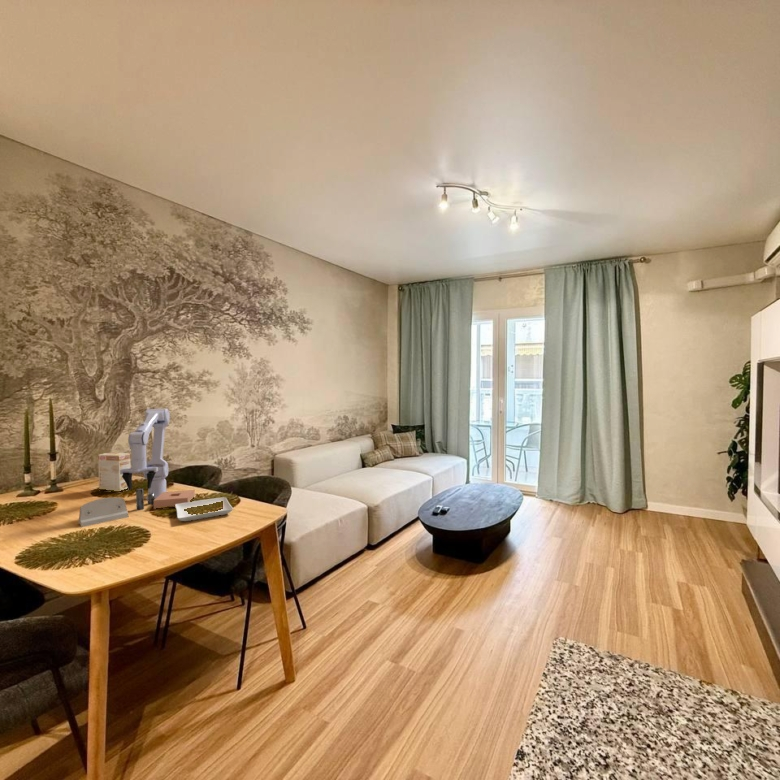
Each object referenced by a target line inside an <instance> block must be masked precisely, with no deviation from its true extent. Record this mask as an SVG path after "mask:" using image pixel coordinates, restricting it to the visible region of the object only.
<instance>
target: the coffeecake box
mask: <svg viewBox="0 0 780 780" xmlns="http://www.w3.org/2000/svg"><path fill="white" fill-rule="evenodd" d="M97 456H98V457H97V458H98V459H97V461H98V464H97V465H98V485H99V486H98V490H99V489H106V490H114V491H121V490H124V489H127V488H128V486H127V484H126V482H125V480H124V479H123V477H122V475H123V474H120V470H121V469H128V468H132V464H131V452H130V453H129V452H128V453H127V452H126V453H125V452H104V453H100V454H97Z"/></svg>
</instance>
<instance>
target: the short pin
mask: <svg viewBox="0 0 780 780" xmlns="http://www.w3.org/2000/svg"><path fill="white" fill-rule="evenodd" d="M146 497H148V499H147V505H154V501H153V500H155V499H156V498H154V493H151V494H147V495H146Z"/></svg>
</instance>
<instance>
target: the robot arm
mask: <svg viewBox="0 0 780 780" xmlns="http://www.w3.org/2000/svg"><path fill="white" fill-rule="evenodd" d="M170 416H171V414H170V410H169V409H168V408H147V409H146V410H145V411H144V421H143V422H141V423H139V425H138V426H137V428H136V429H135V431H134V432H131V433H129V435H128V438H127V440H128V441H127V442H128V445H129V449H130V464H131V468H128V469H121V470H120V474H123V475H122V477H123V479H124V480H125V482H126V484H127V486H128V490H127V491H131V490H132V489H133V483H132V482H133V474H138V473H139V474H140V473H141V474H142V473H143V474H142V475H143V477H144V478H145V479H146V481H147V490H148V491H147V493H148V494H151V493H154V498H155V499H156V498H157V497H158V496H159V495H160V494H161V493H163V492H168V491H167V480H166V478H167V477H168V475H169V470H170V469H169V463H168V461H166V460H165V459H163V458H164V457H163V456H164V444H165V432H166V427H168V426H169V424H170ZM152 431H153V439H152V449H151V459H150V460H148V461H147V444H148V442H149V438H150V436H149V435H150V434H151V432H152ZM144 498H145V499H144V500H148V497H147V496H146V497H144Z"/></svg>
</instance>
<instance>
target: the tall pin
mask: <svg viewBox="0 0 780 780" xmlns="http://www.w3.org/2000/svg"><path fill="white" fill-rule="evenodd" d="M144 491H145V490H144V488H137V489H136V490H135V494H136V495H135V496H136V498H135V499H136V500H135V501H136V502H135V503H136V510H137V511H142V510H144V509H145V499H144V498H145V495H144V493H145V492H144Z"/></svg>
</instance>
